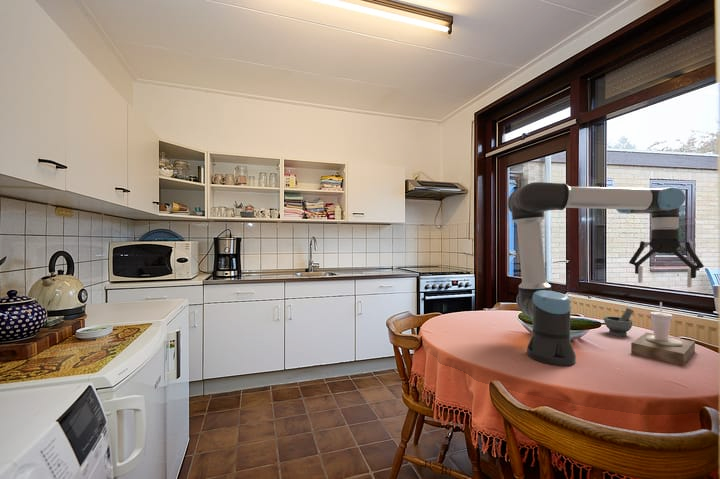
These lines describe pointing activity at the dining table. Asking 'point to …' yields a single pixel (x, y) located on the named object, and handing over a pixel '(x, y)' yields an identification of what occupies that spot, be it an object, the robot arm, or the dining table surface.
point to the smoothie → (661, 324)
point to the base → (664, 348)
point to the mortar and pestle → (619, 323)
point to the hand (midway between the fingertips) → (663, 284)
